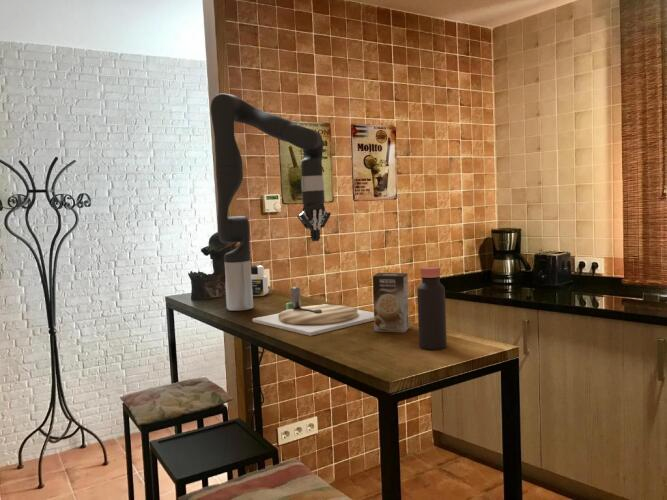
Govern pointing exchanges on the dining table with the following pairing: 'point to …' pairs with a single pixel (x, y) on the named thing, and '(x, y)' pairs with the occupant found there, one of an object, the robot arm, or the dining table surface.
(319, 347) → the dining table surface
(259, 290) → the medicine bottle
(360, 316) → the gauge plate
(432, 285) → the dark grey water bottle
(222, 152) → the robot arm
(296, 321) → the tan round piece
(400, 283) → the coffee box
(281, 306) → the dining table surface
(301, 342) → the dining table surface
